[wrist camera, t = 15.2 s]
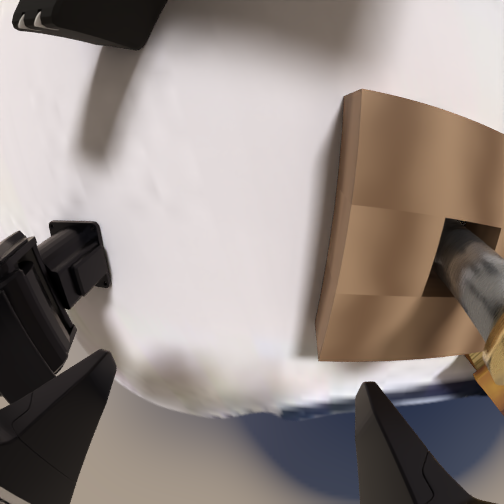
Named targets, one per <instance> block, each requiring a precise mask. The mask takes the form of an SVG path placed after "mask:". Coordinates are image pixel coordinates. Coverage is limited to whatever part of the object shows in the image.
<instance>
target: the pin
mask: <svg viewBox="0 0 504 504" xmlns="http://www.w3.org/2000/svg"><path fill="white" fill-rule="evenodd" d="M432 268H433V269H434V271H435V272H436V273H437V274H438V276H439V277H440V278H441V280H442V281H443V282H444V283H445V285H446V286H447V287H448V289H449V290H450V291H451V293H452V294H453V295H454V297H455V298H456V299H457V301H458V302H459V304H460V305H461V306H462V308H463V309H464V311H465V312H466V314H467V315H468V316H469V318H470V319H471V321H472V322H473V324H474V325H475V327H476V328H477V330H478V331H479V333H480V335H481V336H482V338H483V339H484V341H485V346H484V349H483V361H484V363H485V365H486V366H487V368H488V370H489V372H490V374H491V376H492V378H493V380H494V382H495V384H497V385H504V259H503V258H502V257H501V256H500V255H499V254H498V253H497V252H495V251H494V250H493V249H492V248H491V247H490V246H488V245H487V244H486V243H485V242H484V241H482V240H481V239H480V238H479V237H477V236H476V235H475V234H474V233H472V232H471V231H470V230H468V229H467V228H466V227H465V226H463V225H462V224H461V223H459V222H458V221H457V220H455V219H451V218H445V221H444V225H443V229H442V233H441V237H440V241H439V244H438V248H437V251H436V255H435V258H434V261H433V264H432Z"/></svg>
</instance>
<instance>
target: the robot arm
mask: <svg viewBox="0 0 504 504" xmlns="http://www.w3.org/2000/svg"><path fill="white" fill-rule="evenodd" d="M53 226H54V227H53ZM93 227H94V228H95V229H94V228H93ZM49 229H50V234H51V237H49V238H48V239H47V240H45V241H44V242H42V243H41V244H39V245H38V246H37V244H36V243H37V241H36V239H35V236H33V237H29V238H26V236H25V235H24V234H23V233H22V232H21V231H17V232H15V233H13V234H12V235H10V236H9V237H7V238H6V239H4V240H3V241H1V242H0V396H3V397H4V398H5V399H6V400H7V402H8V403H9V404H10V405H8V406H6V407H4V408H3V409H0V504H70V502H71V498H72V495H73V492H74V489H75V486H76V482H77V479H78V476H79V473H80V470H81V468H82V465H83V462H84V459H85V456H86V454H87V451H88V448H89V446H90V443H91V440H92V438H93V435H94V433H95V430H96V427H97V425H98V422H99V420H100V417H101V415H102V413H103V410H104V408H105V405H106V403H107V400H108V396H109V393H110V390H111V386H112V383H113V380H114V377H115V373H116V369H117V367H116V363H115V361H114V359H113V356H112V354H111V352H110V351H107V350H103V349H100V350H98V351H96V352H95V353H93V354H91V355H90V356H88V357H87V358H85V359H83V360H82V361H80V362H79V363H77V364H76V365H74V366H72V367H71V368H69V369H68V370H66V371H64V372H63V373H61V374H60V375H58V376H57V377H56V375H55V374H57V373H58V372H59V371H60V370H61V368H62V367H63V365H64V363H65V361H66V360H67V358H68V352H69V349H70V347H71V344H72V342H73V339H74V336H75V334H76V331H77V329H76V327H75V325H74V324H73V323H72V322H71V320H70V318H69V316H68V314H67V312H66V310H65V309H68V310H70V309H71V308H72V307H73V305H74V304H75V303H76V302H77V301H78V300H79V299H80V298H81V297H82V296H85V295H86V294H87V293H88V292H89V291H90V290H91V289H92V288H93V287H94V286H98V287H103V288H108V287H109V286H110V285H111V280H110V276H109V272H108V268H107V263H106V259H105V254H104V249H103V244H102V239H101V234H100V229H99V225H98V223H97V222H94V221H58V220H53V221H51V222H50V223H49ZM355 441H356V452H357V463H358V476H359V491H360V504H496V503H491V502H486V501H482V500H479V499H476V498H474V497H472V496H471V495H469V494H468V493H467V492H466V491H465V490H464V489H463V488H462V487H461V486H460V485H459V484H458V483H457V482H456V481H455V480H454V479H453V478H452V477H451V476H450V475H449V474H448V473H447V472H446V471H445V470H444V468H443V467H442V466H441V465H440V464H439V463H438V461H437V460H436V459H435V458H434V456H433V455H432V454H431V453H430V451H428V449H427V448H426V446H425V445H424V444H423V442H422V441H421V440H420V439H419V437H418V436H417V435H416V433H415V432H414V431H413V429H412V428H411V427H410V426H409V424H408V423H407V422H406V421H405V419H404V418H403V417H402V416H401V414H400V413H399V412H398V410H397V409H396V408H395V407H394V405H393V404H392V403H391V401H390V400H389V399H388V398H387V396H386V395H385V394H384V393H383V391H382V390H381V389H380V388H379V386H378V385H377V384H376V383H375V382H363V383H362V385H361V387H360V389H359V391H358V393H357V395H356V398H355Z"/></svg>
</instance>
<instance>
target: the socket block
mask: <svg viewBox="0 0 504 504" xmlns="http://www.w3.org/2000/svg"><path fill="white" fill-rule="evenodd" d="M445 218H451V219H457V220H462V221H466V225H465V227H466V228H467V229H468V230H470V231H471V232H472V233H474V234H475V235H476V236H477V237H479V238H480V239H481V240H482V241H484V242H485V243H486V244H487V245H488V246H490V247H491V248H492V249H493V250H494V251H495V252H497V253H498V254H499V255H500V256H501V257H502V258H503V259H504V134H502V133H500V132H498V131H496V130H494V129H491V128H489V127H487V126H485V125H482V124H480V123H478V122H475V121H473V120H470V119H468V118H465V117H462V116H460V115H457V114H454V113H452V112H449V111H446V110H443V109H440V108H437V107H434V106H430V105H427V104H424V103H420V102H417V101H413V100H410V99H406V98H402V97H398V96H394V95H390V94H385V93H381V92H376V91H371V90H366V89H360V90H358V91H355V92H353V93H350V94H348V95H346V96H344V104H343V122H342V137H341V150H340V161H339V172H338V181H337V190H336V199H335V207H334V215H333V222H332V229H331V236H330V243H329V249H328V255H327V262H326V268H325V273H324V279H323V285H322V290H321V295H320V300H319V305H318V310H317V315H316V320H315V328H316V338H317V349H318V361H334V362H366V361H396V360H413V359H426V358H437V357H446V356H455V355H463V354H470V353H477V352H483V349H484V346H485V341H484V339H483V338H482V336H481V335H480V333H479V331H478V330H477V328H476V327H475V325H474V324H473V322H472V321H471V319H470V318H469V316H468V315H467V314H466V312H465V311H464V309H463V308H462V306H461V305H460V304H459V302H458V301H457V299H456V298H455V297H454V295H453V294H452V293H451V291H450V290H449V289H448V287H447V286H446V285H445V283H444V282H443V281H442V280H441V278H440V277H439V276H438V274H437V273H436V272H435V271H434V269H433V268H432V264H433V261H434V258H435V255H436V251H437V248H438V244H439V241H440V237H441V233H442V229H443V225H444V221H445Z"/></svg>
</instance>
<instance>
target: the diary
mask: <svg viewBox="0 0 504 504" xmlns="http://www.w3.org/2000/svg"><path fill="white" fill-rule="evenodd" d="M464 355H465V357H466V358H467V359H468V360H469V362H470V363H471V364H472V365H473V367H474V368H475V369H476V372H475V373H474V374H473V376H474V378H475V380H476V381H477V382H478V384H479V385H480V386H481V387H482V389H483V390H484V391H485V392H486V394H487V395H488V396H489V397H490V399H491V400H492V401H493V402H494V404H495V405H496V406H497V408H498V409H499V410H500V412H501V413H502V414H503V415H504V385H497V384H495V382H494V380H493V378H492V376H491V374H490V372H489V370H488V368H487V366H486V365H485V363H484V361H483V352H477V353H470V354H464Z"/></svg>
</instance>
